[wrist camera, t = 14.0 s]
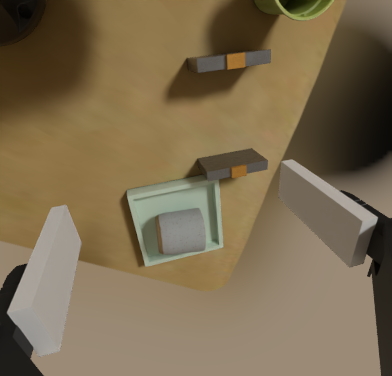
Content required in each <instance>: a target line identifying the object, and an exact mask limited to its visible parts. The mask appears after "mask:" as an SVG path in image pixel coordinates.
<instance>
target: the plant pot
mask: <svg viewBox="0 0 392 376" xmlns="http://www.w3.org/2000/svg"><path fill="white" fill-rule="evenodd" d="M333 1H334V0H254V2H255V4H256V6H257V7H258V9H259V10H261V11H263V12H264V13H267V14H284V15H286V16H287V17H289V18H291V19H293V20H297V21H306V20H310V19H313V18H316V17H317V16H319V15H321V14H322V13H323V12H325V11H326V10H327V9H328V8H329V7H330V5H331V4H332V3H333ZM280 3H282V4H280Z"/></svg>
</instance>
